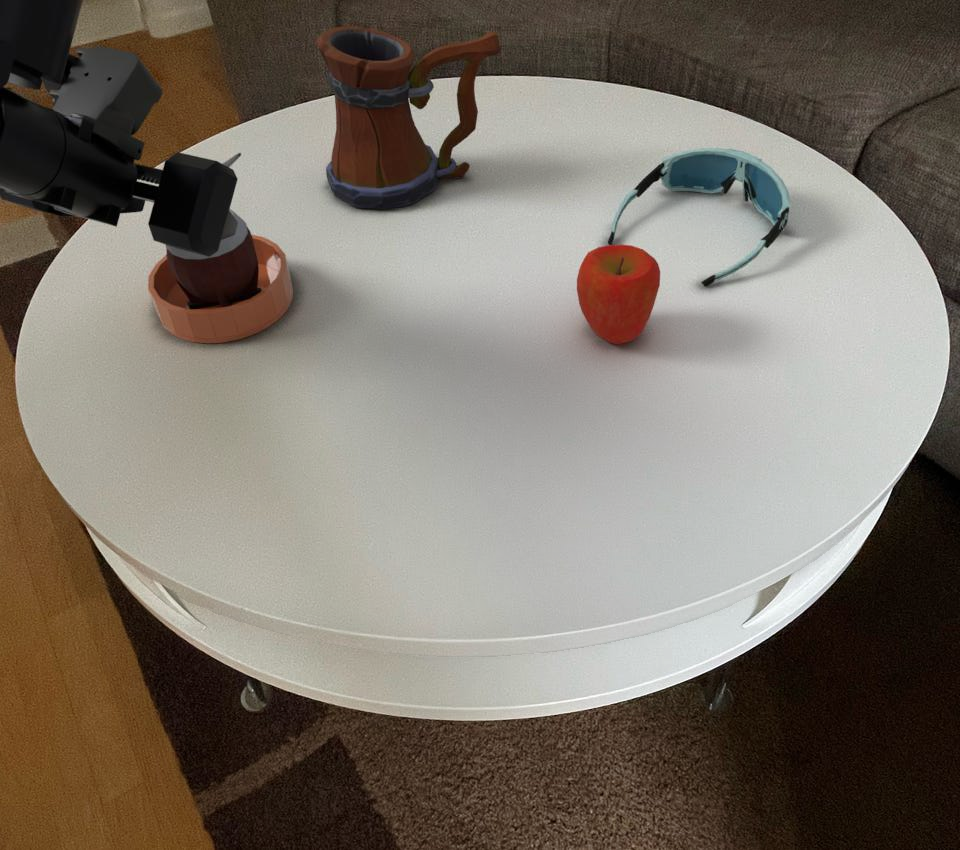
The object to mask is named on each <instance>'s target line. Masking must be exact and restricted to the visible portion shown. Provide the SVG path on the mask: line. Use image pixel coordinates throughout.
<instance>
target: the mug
mask: <svg viewBox="0 0 960 850" xmlns="http://www.w3.org/2000/svg"><path fill="white" fill-rule="evenodd" d="M315 42H316V45H317V48H318V51H319V52H320V54H321V56H322V58H323V60H324V61H325V64H326V66H327V68H328V70H327V75H326V79H327V82H328V84H329V86H330V88H331V90H332V91H333V93H334V103H335V121H336V122H335V123H336V124H335V126H336V127H335V134H334V141H333V147H332V152H331V159H330V161H329V163H328V164H327V166H326V167H325V174H326V179H327V182H328V184H329V187H330V188H331V191H332V193H333V195H334V197H335V198H337V199H339V200H341V201H342V202H345V203H346V204H349V206H352V207H353V208H356V209H373V210H387V209H394V208H398V207H399V208H400V207H405V206H410V205H411V206H412V205H413V204H415V203H416V202H418V201H420V200H421V199H423V198H424V197H425V196H427V195H429V194H431V193H432V192H434V191H435V189H436V186H437V184H438V181H439V179H441V178H443V179H450V180H451V179H460V178H464V177H465V175H466V174H467V172H468V171H469V169H470V166H471V165H470V163H469V162H467V161H463V162H461V163H460V164H457V162H456V160H455V158H453V157H452V152H453V149H455V147H456V146H458V145H460V144H461V143H462V142H463V141H464V140H466V139H467V138H468V137H469V136H470V135H471V134H472V133H473V132H474V131H475V130H476V127H477V121H478V113H479V109H478V105H477V100H476V93H475V81H476V78H477V75H478V71H479V69H480V66H481V63H482V61H483V60H484V59H486V58H488V57H494V56H496V55H499V54H500V53H501V51H502V48H501V45H500V39H499V36H498V33H497V31H494V30H492V31H490V32H488V33H486V34H485V35H483V36H481V37H478V38H474V39H471V40H467V41H463V42H462V41H461V42H454V43H449V44H444V45H441V46H438V47H436V48H435V49H432V50H431V51H428V52H427V53H426V54H424V55H423V56H422V57H420V58H419V60H418V61H417V62H416V63H415V64H414V61H415V59H416V54H415V52H414V48H413V47H412V46H411V45H410V44H409V43H408V42H406V41H404V40H402V39H400V38H399V37H396V36H394V35H393V34H390V33H387V32H384V31H381V30H378V29H375V28H367V27H364V26H356V25H355V26H353V25H344V26H338V27H332V28H330V29H328V30H326V31H324V32H323V33H322V34H321V35H319V37H317V38H316V39H315ZM457 61H465V66H464V67H463V70H462V72H461V74H460V78H459V80H458V84H457V90H456V103H457V105H456V106H457V111H458V116H459V117H458V118H459V123H458V125H456V126H455V127H454V128H453V129H452V130H451V131H450V132H449V133H448V134H447V136H446V137H445V138H444V140H443V142H442V144H441V146H440V148H439V152H438V156H437V155H436V153H435V152H434V150H433V148H432V147H431V145H428V144H426V143H425V141H424V139H423V137H422V135H421V133H420V132H419V130H418V128H417V126H416V123H415V121H414V119H413V114H412V111H411V109H412V108H411V106H410V105H412V106H413V107H415V108H416V109H418V110H424V108H425V107H426V106H427V105H428V103H429V101H430V98H431V93H432V91H433V89H434V83H433V81H432V80H431V78H430V77H429V75H430V73H431V71H432V70H433V69H434V68H437V67H439V66H441V65H444V64H448V63H453V62H457ZM413 65H414V66H413ZM412 66H413V67H412Z"/></svg>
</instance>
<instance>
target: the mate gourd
mask: <svg viewBox="0 0 960 850" xmlns="http://www.w3.org/2000/svg"><path fill="white" fill-rule="evenodd" d="M241 156H242V152H238V153H236V154H234V155H233V156H232V157H230V158H229V159H227V160H225V161H224V162H223V163H222V164H224V165H225V166H227V167H229V168H231V167H232V165H233V164H235V162H236V161H238V159H240V158H241ZM229 211H230V212H231V214H232V215H233V216H234V217H235V219H236V220H237V221H238V225H237V229H236V233H235V235H233V236H231V237H228V238H225V239H223V240H221V242H220V246H219V249H218V251H217V252H216V253H214V254H213V255H212V256H210V257H207V256H204V255H200V254H196V253H193V252H189V251H185V250H181V249H178V248H175V247H172V246H168V245H165V250H166V255H167V260H168V264H169V266H170V269H171V271H172V273H173V274H174V277H175V279H176V281H177V283H178V285H179V286H180V288H181V289H182V291H183V292H184V293H185V295H186V296H187V297H188V299H189V300H190V301H188V302H187V304H188V306H189V308H190V309H200V308H205V307H210V306H216V305H221V307H227V306H232V303H233V302H237V301H242V300H247V299H250V298H252V297H254V296H255V295H257V294H258V293H260V292H262V290H261V288H258V273H259V267H258V260H257V255H256V251H255V247H254V241H253V238H252V235H253V234H252V233H251V231H250V228H249V227H248V225H247V222H246V221H245V220H244V219H243V218H242V217H241V216H240V215H238V214H237V213H236V212H235V211H234V210H232V209H231V208H230V209H229Z"/></svg>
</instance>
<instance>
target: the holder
mask: <svg viewBox="0 0 960 850" xmlns="http://www.w3.org/2000/svg"><path fill="white" fill-rule="evenodd" d="M251 235H252V238H253V241H254V247H255V251H256V255H257V260H258V267H259V273H258V288H261V290H262V292H260V293H258V294H257V295H255V296H254V297H252V298H250V299H247V300H242V301H237V302H233V303H232V306H227V307H221V305H216V306H210V307H205V308H200V309H190V308H189V306H188V304H187V302H188V301H190V300H189V299H188V297H187V296H186V295H185V293H184V292H183V291H182V289H181V288H180V286H179V285H178V283H177V281H176V279H175V277H174V274H173V273H172V271H171V269H170V266H169V264H168V260H167V254H165V255H164V256H163V257H161V259H159V260H158V261H157V262H156V263H155V265H154V267H153V268H152V270H151V272H150V273H149V275H148V281H147V290H148V293H149V296H150V298H151V301H152V304H153V308H154V309H155V312H156V316H158V318H159V321H160V323H161V325H162V326H163V328H164V329H165V330H166V331H167V332H168V333H170V334H171V335H173V336H174V337H176V338H179V339H181V340H184V341H186V342H192V343H197V344H219V343H220V344H222V343H229V342H233V341H238V340H242V339H245V338H248V337H251V336H254V335H256V334H258V333H261V332H262V331H264V330H266V329H268V328H269V327H271V326H272V325H273V324H275V323H276V322H278V321H279V319H281V318H282V317H283V315H285V313H286V312H287V311H288V310H289V308H290V306H291V304H292V301H293V296H294V289H293V288H294V287H293V284H292V278H291V273H290V269H289V265H288V260H287V255H286V253H285V252H284V251H283V250H282V248H281V247H280V246H279V245H278V244H277V243H276V242H274V241H272V240H270V239H268V238H266V237H264V236H259V235H255V234H251Z"/></svg>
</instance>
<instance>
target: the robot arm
mask: <svg viewBox="0 0 960 850" xmlns="http://www.w3.org/2000/svg"><path fill="white" fill-rule="evenodd" d="M82 4H83V0H0V199H1V201H5V202H7V203H11V204H12V205H16V206H19V207H21V208H26V209H30V210H33V211H37V212H41V213H44V214H51V215H53V216H58V217H62V218H72V217H79V218H83V219H86V220H90V221H93V222H97V223H101V224H104V225H109V226H113V227H118V223H119V220H120V217H121V214H132V213H141V212H143V210H144V208H145V204H146V202H150V203H153V204H152V209H151V212H150V216H149V220H148V222H147V223H148V228H149V230H150V233H151V236H152V240H153V241H154V242H157V243H159V244H162V245H165V246H166V245H168V246H172V247H175V248H178V249H181V250H185V251H189V252H193V253H196V254H200V255H204V256H207V257H210V256H212V255H213V254H214V253H216V252H217V251H218V249H219V246H220V242H221V240H223V239H225V238H228V237H231V236H233V235H235V233H236V229H237V225H238V221H237V220H236V219H235V217H234V216H233V215H232V214H231V212H230V211H229V209H231V205H232V202H233V198H234V194H235V191H236V187H237V184H238V177H237V174H236V172H235V170H234V169H233V168H231V167H227V166H225V165H224V164H222V163H221V162H220V161H218V160H215V159H210V158H205V157H201V156H196V155H193V154H192V155H191V154H187V153H183V152H178V151H177V152H175V153H174V154H173V155H171V156H170V157H168V158H167V159H166V160H165V161H164V164H163V166H162V167H163V168H162V169H161V168H156V167H152V166H147V165H143V164H139V163H135V161H140V160H141V159H142V155H143V152H144V148H145V143H146V142H145V141H143V140H141V139H139V138H136V137H134V136H133V135H135V134H136V133H138V131H139V130H140V129H141V127H142V125H143V123H144V122H145V120H146V119H147V117H148V115H149V114H150V113H151V111H152V109H153V107H154V106H155V104H158V103H159V102H160V100H161V99H162V96H163V92H164V91H163V88H162V86H161V84H159V82H158V81H157V80H156V79H155V77H154V76H153V74H152V73H151V72H150V70H149V69H148V68H147V66H146V65H145V64H144V62H143V61H142V60H141V58H140V57H139V56H138V55H137V54H136V53H135V52H132V51H127V50H122V49H117V48H111V47H106V46H100V45H99V46H98V45H96V46H92V47H89V48H83V47H78V48H77V49H76V51H75V53H76V54H77V55H78V56H76V55H73V54H70V50H71V47H72V44H73V40H74V35H75V32H76V28H77V23H78V21H79V16H80V12H81V9H82ZM8 83H10V84H13V85H17V86H19V87H23V88H25V89H30V90H37V91H38V90H39V91H40V90H41V88H42V84H43V86H44V88H45V90H46V92H47V93H48V94H49V95H50V96H51V97H52V100H51V102H52V106H53V107H52V108H51V107H48V106H44V105H42V104H40V103H38V102H37V101H34V100H32V99H30V98H28V97H26V96H24V95H21V94H20V93H17V92H15V91H13V90H11V89H9V88H7V87H5V86H6V85H7V84H8ZM154 184H155V185H154Z"/></svg>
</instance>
